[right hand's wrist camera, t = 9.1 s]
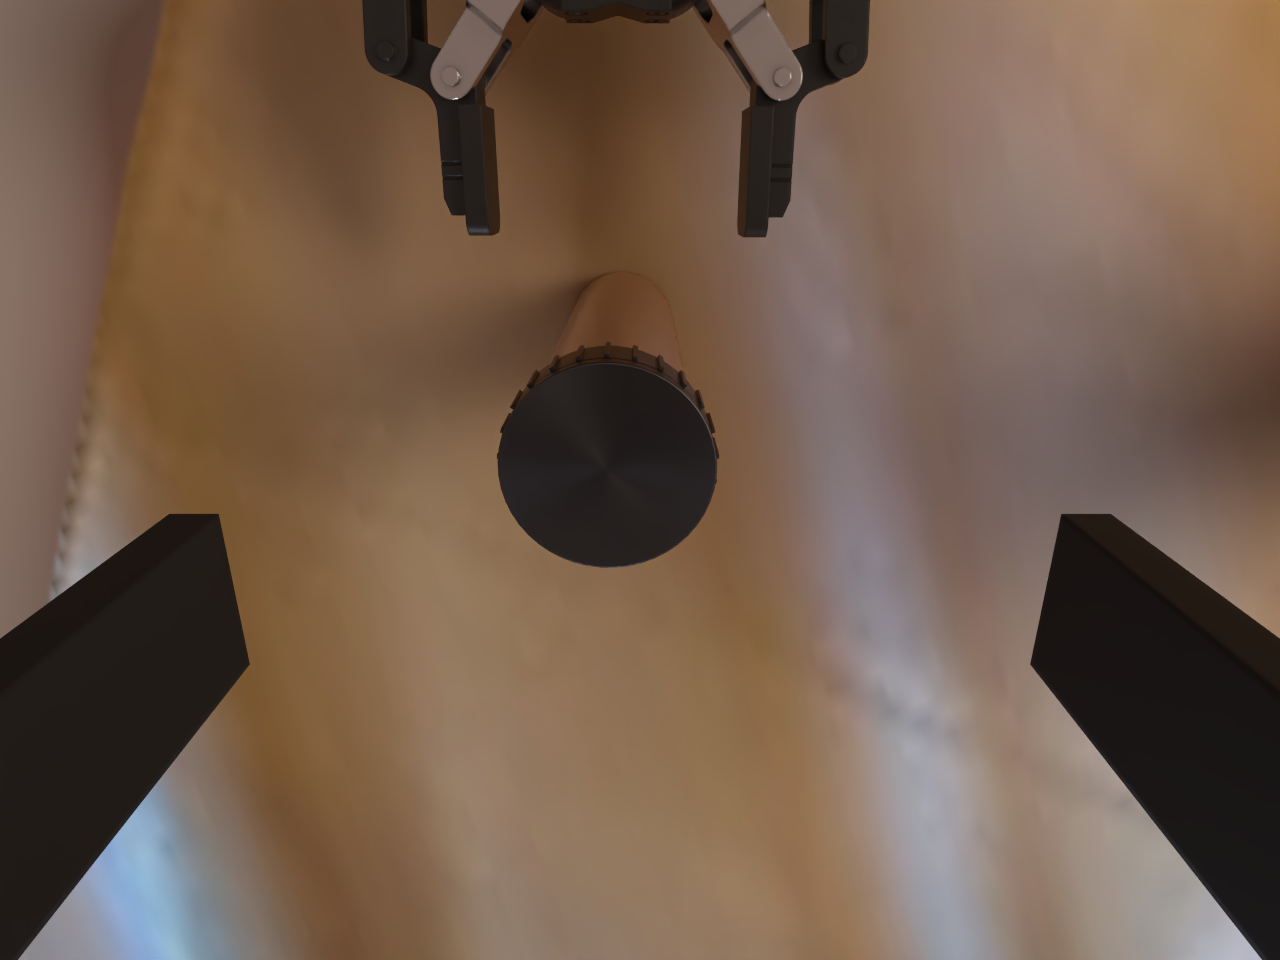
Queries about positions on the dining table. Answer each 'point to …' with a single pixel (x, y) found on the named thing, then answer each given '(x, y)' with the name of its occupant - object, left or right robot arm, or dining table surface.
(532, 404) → the lid
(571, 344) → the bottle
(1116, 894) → the dining table surface
